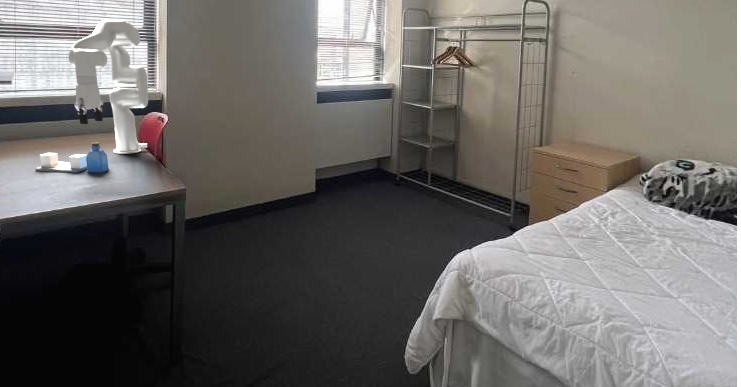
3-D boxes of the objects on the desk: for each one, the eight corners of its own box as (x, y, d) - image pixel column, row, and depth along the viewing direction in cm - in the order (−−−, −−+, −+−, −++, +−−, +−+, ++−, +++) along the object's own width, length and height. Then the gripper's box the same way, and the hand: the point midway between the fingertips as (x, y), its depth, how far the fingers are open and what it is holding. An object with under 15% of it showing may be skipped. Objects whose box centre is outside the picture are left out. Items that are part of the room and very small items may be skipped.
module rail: (92, 166, 236) (91, 153, 235) (75, 172, 225) (73, 158, 223) (55, 164, 238) (53, 151, 237) (35, 170, 227) (33, 156, 225)
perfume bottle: (93, 168, 233) (90, 141, 229) (108, 168, 233) (105, 141, 230) (87, 172, 227) (84, 144, 223) (102, 172, 227) (99, 144, 224)
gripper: (91, 79, 229) (96, 119, 233) (64, 81, 212) (69, 124, 217) (108, 80, 228) (112, 120, 232) (81, 82, 211) (86, 125, 216)
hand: (91, 122), depth 225 cm, fingers open, 9 cm apart
